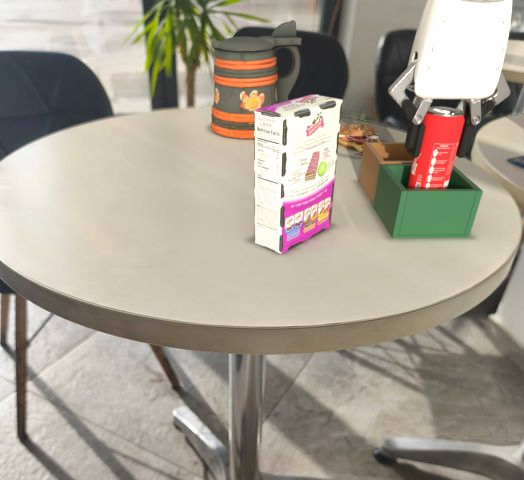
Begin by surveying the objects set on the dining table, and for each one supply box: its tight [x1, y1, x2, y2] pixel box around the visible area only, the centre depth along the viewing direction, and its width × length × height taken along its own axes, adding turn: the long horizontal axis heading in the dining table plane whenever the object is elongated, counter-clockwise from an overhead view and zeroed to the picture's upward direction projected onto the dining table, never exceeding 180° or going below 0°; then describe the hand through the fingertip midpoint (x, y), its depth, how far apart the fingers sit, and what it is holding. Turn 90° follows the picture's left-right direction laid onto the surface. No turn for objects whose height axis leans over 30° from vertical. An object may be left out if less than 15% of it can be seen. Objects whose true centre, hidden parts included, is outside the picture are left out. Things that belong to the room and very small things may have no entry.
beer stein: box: [210, 19, 303, 140], centre depth 102 cm, size 19×15×20 cm
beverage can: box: [407, 105, 465, 189], centre depth 65 cm, size 5×5×12 cm
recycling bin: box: [372, 164, 484, 239], centre depth 68 cm, size 11×11×7 cm
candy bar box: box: [253, 93, 344, 255], centre depth 61 cm, size 11×5×16 cm, turn 139°
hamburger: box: [338, 123, 382, 157], centre depth 96 cm, size 14×14×6 cm
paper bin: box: [358, 141, 413, 205], centre depth 77 cm, size 10×10×7 cm
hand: (435, 153), depth 65 cm, fingers closed on beverage can, 5 cm apart
